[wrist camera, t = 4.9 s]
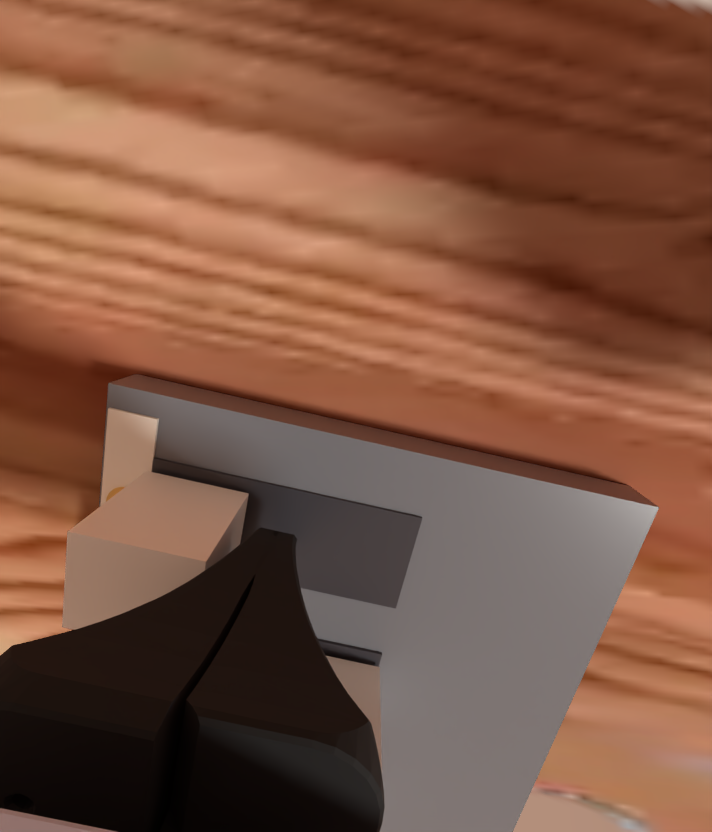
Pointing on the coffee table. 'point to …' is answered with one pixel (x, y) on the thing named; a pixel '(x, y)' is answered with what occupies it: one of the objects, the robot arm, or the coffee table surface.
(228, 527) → the tab
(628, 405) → the coffee table surface
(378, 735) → the tab
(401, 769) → the switch bank
